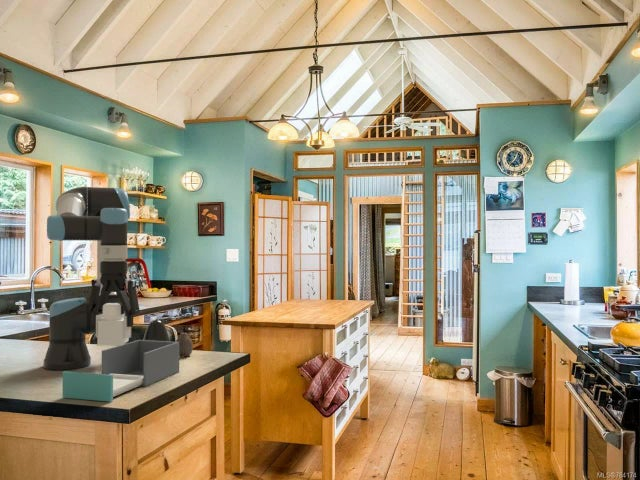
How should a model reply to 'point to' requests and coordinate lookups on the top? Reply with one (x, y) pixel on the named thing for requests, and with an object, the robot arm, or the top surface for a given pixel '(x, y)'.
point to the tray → (98, 385)
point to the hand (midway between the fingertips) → (113, 337)
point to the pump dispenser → (156, 331)
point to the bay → (143, 360)
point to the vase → (184, 345)
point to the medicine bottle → (111, 326)
